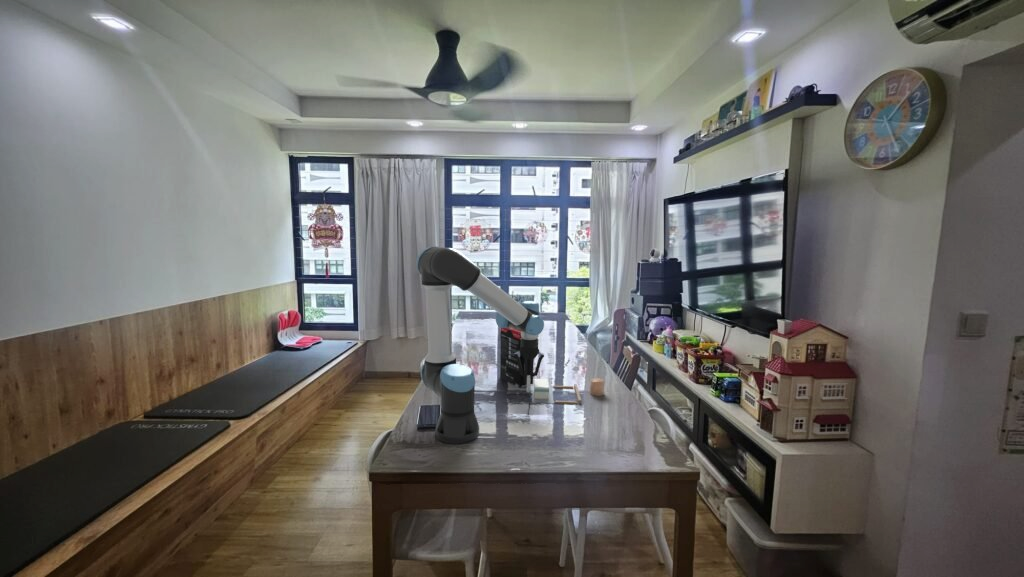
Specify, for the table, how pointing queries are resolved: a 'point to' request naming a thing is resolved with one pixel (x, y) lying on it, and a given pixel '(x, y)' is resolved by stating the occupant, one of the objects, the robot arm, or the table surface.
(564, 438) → the table surface
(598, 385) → the wooden block
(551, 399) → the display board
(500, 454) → the table surface
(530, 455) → the table surface
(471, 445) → the table surface
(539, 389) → the carton
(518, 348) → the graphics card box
